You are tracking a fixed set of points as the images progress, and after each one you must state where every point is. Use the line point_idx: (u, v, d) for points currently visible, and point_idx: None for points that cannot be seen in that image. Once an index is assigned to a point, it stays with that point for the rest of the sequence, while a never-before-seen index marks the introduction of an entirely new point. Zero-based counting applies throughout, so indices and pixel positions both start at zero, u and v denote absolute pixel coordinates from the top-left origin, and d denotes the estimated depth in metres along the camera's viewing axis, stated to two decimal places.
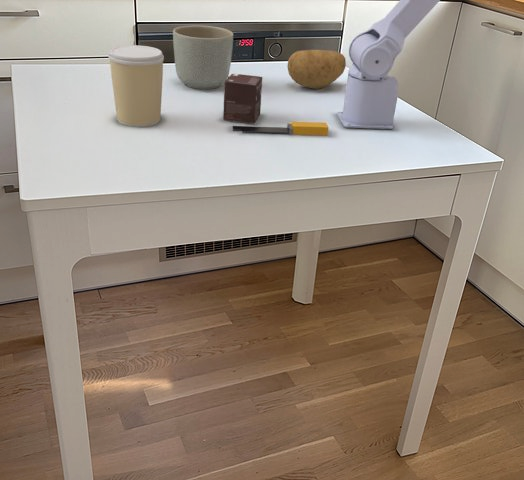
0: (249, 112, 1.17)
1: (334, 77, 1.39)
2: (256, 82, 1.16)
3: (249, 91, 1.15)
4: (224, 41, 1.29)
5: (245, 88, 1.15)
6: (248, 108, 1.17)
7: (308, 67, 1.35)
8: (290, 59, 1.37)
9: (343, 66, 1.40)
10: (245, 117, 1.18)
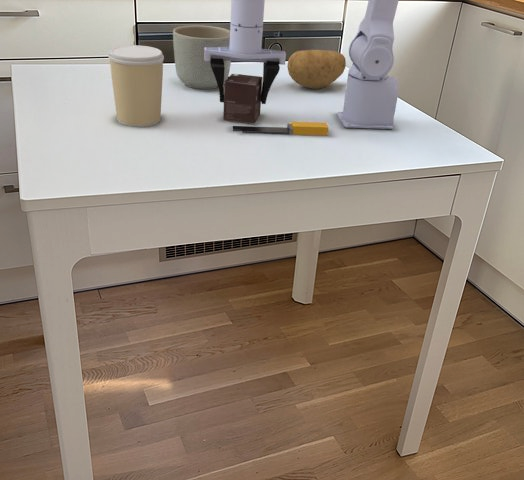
0: (249, 112, 1.17)
1: (334, 77, 1.39)
2: (256, 82, 1.16)
3: (249, 91, 1.15)
4: (224, 41, 1.29)
5: (245, 88, 1.15)
6: (248, 108, 1.17)
7: (308, 67, 1.35)
8: (290, 59, 1.37)
9: (343, 66, 1.40)
10: (245, 117, 1.18)
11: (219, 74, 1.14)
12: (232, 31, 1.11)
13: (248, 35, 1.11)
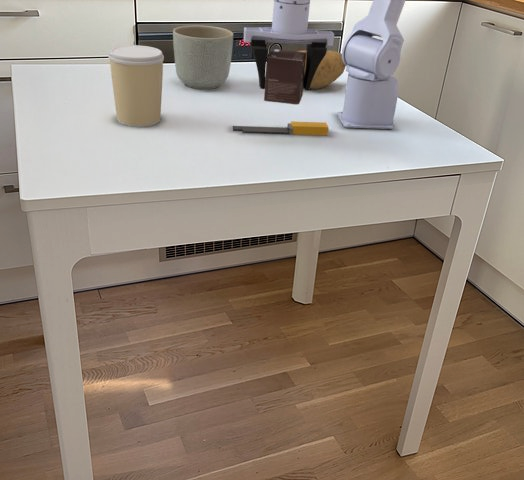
0: (294, 91, 1.06)
1: (334, 77, 1.39)
2: (302, 58, 1.04)
3: (294, 68, 1.03)
4: (224, 41, 1.29)
5: (290, 64, 1.03)
6: (293, 87, 1.05)
7: None
8: None
9: (343, 66, 1.40)
10: (289, 97, 1.06)
11: (261, 57, 1.03)
12: (277, 9, 1.00)
13: (295, 13, 0.99)
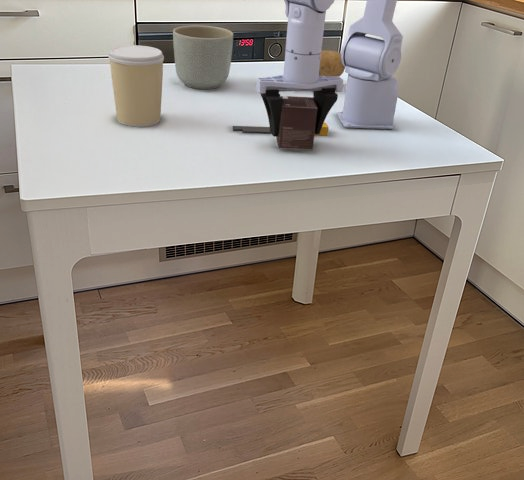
0: (308, 138, 1.07)
1: None
2: (314, 105, 1.05)
3: (309, 115, 1.05)
4: (224, 41, 1.29)
5: (305, 112, 1.04)
6: (307, 133, 1.06)
7: None
8: None
9: (343, 66, 1.40)
10: (304, 144, 1.07)
11: (276, 107, 1.03)
12: (291, 60, 1.01)
13: (310, 63, 1.00)
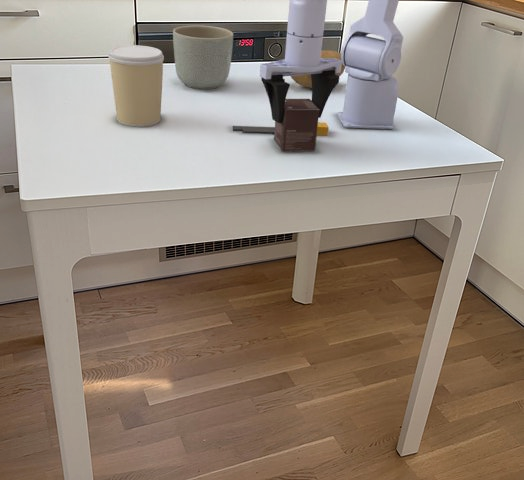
0: (311, 139, 1.07)
1: None
2: (315, 106, 1.06)
3: (312, 117, 1.05)
4: (224, 41, 1.29)
5: (308, 114, 1.05)
6: (310, 135, 1.07)
7: None
8: None
9: (343, 66, 1.40)
10: (306, 145, 1.08)
11: (283, 92, 1.01)
12: (295, 43, 0.99)
13: (315, 46, 0.99)
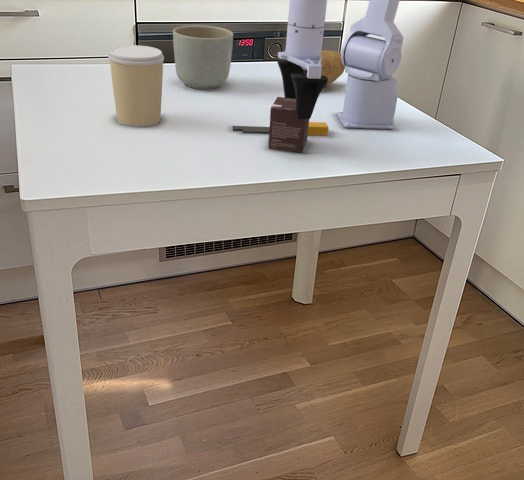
0: (307, 131, 1.11)
1: (334, 77, 1.39)
2: None
3: None
4: (224, 41, 1.29)
5: None
6: None
7: None
8: None
9: (343, 66, 1.40)
10: (306, 138, 1.11)
11: None
12: (318, 35, 0.99)
13: None
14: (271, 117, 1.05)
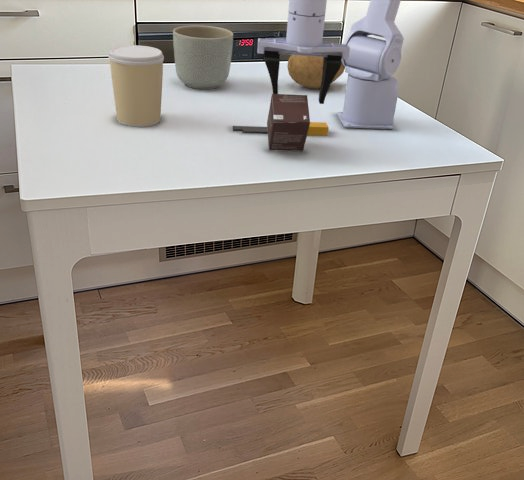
0: None
1: (334, 77, 1.39)
2: (297, 96, 1.04)
3: None
4: (224, 41, 1.29)
5: None
6: None
7: (308, 67, 1.35)
8: (290, 59, 1.37)
9: (343, 66, 1.40)
10: None
11: None
12: None
13: None
14: (273, 129, 1.03)
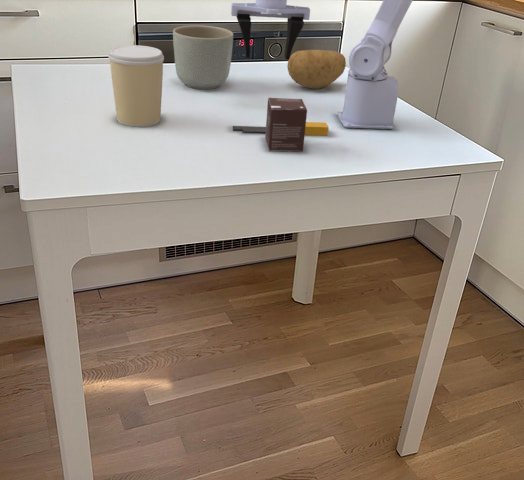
0: None
1: (334, 77, 1.39)
2: (293, 99, 1.09)
3: None
4: (224, 41, 1.29)
5: None
6: None
7: (308, 67, 1.35)
8: (290, 59, 1.37)
9: (343, 66, 1.40)
10: None
11: None
12: None
13: None
14: (272, 119, 1.05)
